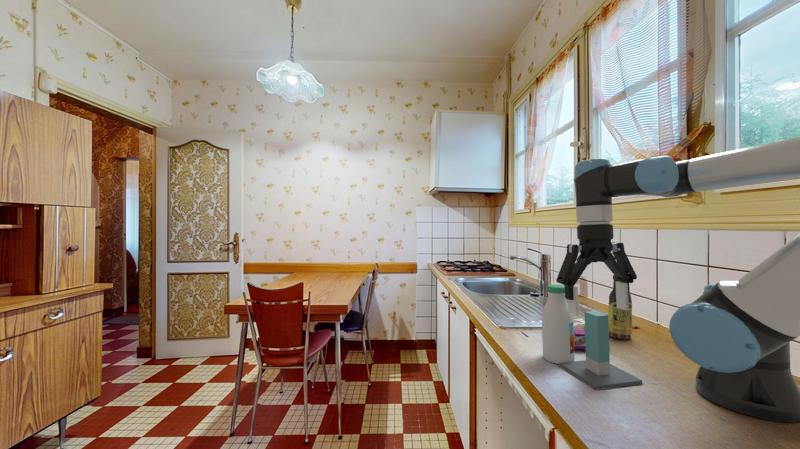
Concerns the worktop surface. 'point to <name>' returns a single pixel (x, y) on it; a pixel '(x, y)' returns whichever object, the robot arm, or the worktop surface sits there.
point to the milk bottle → (557, 327)
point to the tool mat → (603, 381)
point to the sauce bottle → (619, 316)
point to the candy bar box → (579, 334)
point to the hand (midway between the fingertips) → (598, 311)
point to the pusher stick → (597, 342)
